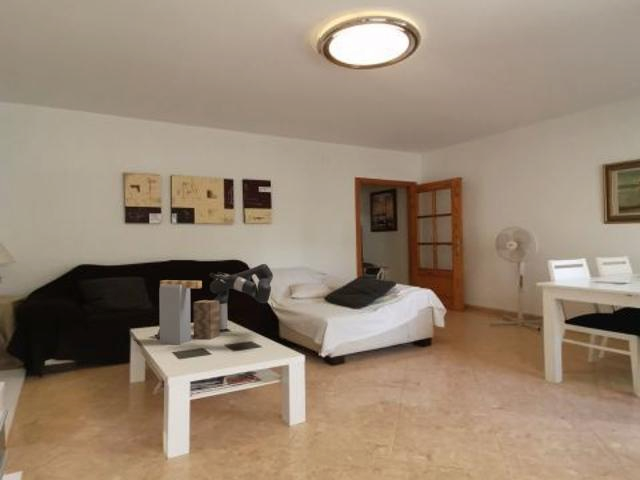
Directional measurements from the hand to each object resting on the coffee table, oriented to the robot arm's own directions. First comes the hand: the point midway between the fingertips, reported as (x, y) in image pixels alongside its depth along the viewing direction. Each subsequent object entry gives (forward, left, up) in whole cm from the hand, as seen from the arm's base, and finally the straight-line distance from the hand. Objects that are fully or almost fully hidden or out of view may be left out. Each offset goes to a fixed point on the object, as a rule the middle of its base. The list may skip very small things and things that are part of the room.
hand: (213, 273), depth 236 cm
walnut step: (-21, +4, -40) cm, 45 cm away
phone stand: (-37, -17, -40) cm, 58 cm away
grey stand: (-20, -16, -40) cm, 48 cm away
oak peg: (-17, -13, -8) cm, 23 cm away
